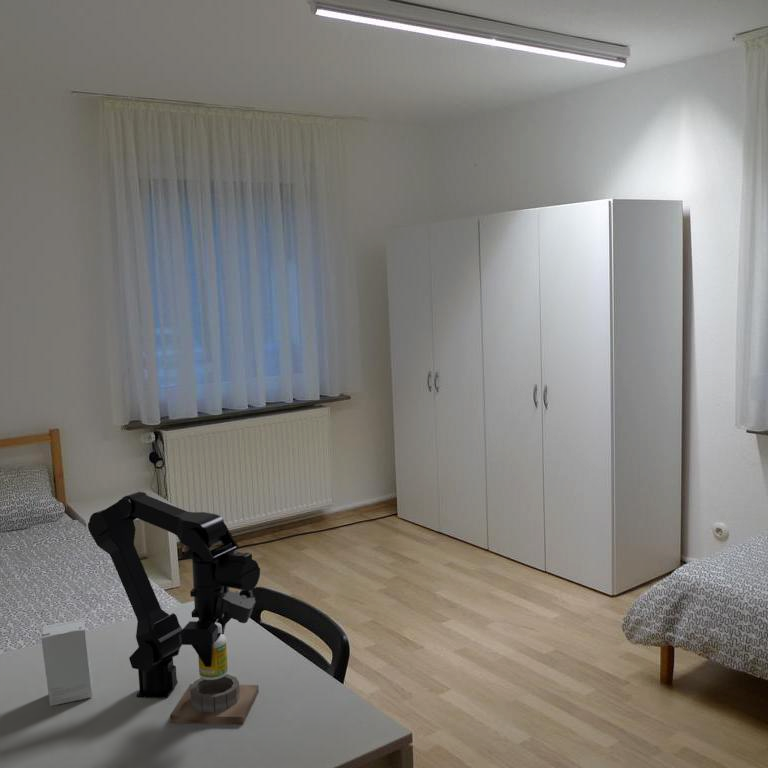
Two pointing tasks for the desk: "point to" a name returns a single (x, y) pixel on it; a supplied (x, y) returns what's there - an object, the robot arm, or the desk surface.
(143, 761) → the desk surface
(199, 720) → the collar board
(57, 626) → the skincare box
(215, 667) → the supplement bottle
